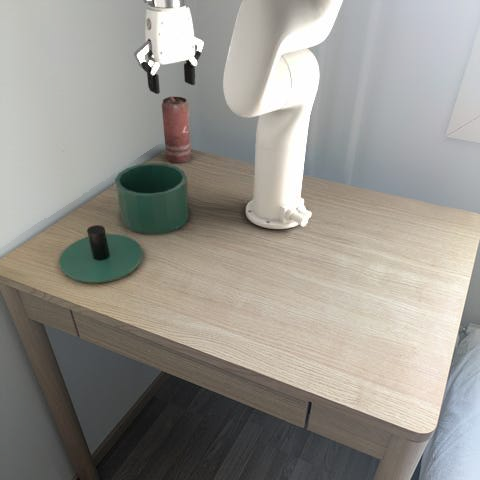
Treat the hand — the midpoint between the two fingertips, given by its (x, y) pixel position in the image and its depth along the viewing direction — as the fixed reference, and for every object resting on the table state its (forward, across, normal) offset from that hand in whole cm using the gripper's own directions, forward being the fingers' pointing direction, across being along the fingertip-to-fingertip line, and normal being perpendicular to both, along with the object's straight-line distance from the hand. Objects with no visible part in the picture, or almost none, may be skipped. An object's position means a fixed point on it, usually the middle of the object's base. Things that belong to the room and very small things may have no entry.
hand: (172, 87), depth 112 cm
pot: (+16, -20, -20) cm, 33 cm away
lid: (+16, -36, -28) cm, 48 cm away
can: (+17, 0, 0) cm, 17 cm away
